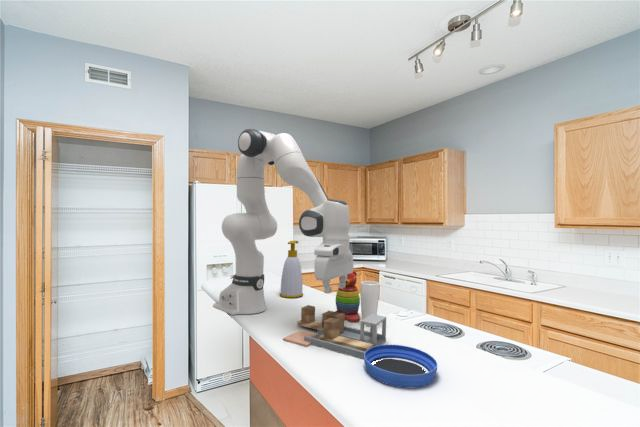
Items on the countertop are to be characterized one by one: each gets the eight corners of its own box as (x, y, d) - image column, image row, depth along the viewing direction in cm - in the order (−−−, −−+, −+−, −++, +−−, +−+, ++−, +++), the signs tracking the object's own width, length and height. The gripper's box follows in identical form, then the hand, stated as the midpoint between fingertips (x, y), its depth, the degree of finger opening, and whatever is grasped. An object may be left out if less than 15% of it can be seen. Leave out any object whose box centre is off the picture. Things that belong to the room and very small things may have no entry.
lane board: (304, 342, 100) (304, 317, 100) (330, 328, 114) (331, 306, 114) (364, 359, 90) (365, 331, 90) (385, 341, 103) (386, 316, 104)
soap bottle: (306, 294, 162) (308, 240, 162) (298, 299, 151) (299, 242, 151) (285, 291, 166) (287, 239, 166) (275, 297, 155) (277, 241, 155)
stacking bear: (329, 319, 124) (330, 271, 124) (337, 312, 133) (339, 268, 133) (356, 323, 120) (358, 274, 120) (363, 315, 129) (365, 270, 129)
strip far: (297, 324, 114) (297, 306, 114) (304, 321, 117) (304, 304, 117) (338, 334, 105) (338, 315, 105) (343, 331, 109) (344, 312, 109)
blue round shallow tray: (426, 399, 71) (426, 382, 72) (351, 375, 81) (352, 361, 81) (443, 367, 87) (444, 354, 87) (379, 351, 96) (379, 339, 96)
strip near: (319, 340, 100) (319, 319, 100) (326, 336, 104) (326, 316, 104) (367, 353, 92) (368, 330, 92) (373, 348, 95) (374, 327, 95)
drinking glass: (378, 327, 116) (379, 285, 116) (358, 326, 117) (359, 283, 117) (378, 321, 122) (379, 281, 122) (360, 320, 124) (361, 280, 124)
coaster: (282, 340, 102) (282, 338, 102) (299, 331, 110) (299, 330, 110) (306, 346, 97) (306, 344, 97) (322, 337, 105) (322, 335, 105)
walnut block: (321, 327, 108) (322, 313, 108) (328, 323, 112) (329, 310, 112) (337, 331, 105) (338, 317, 105) (344, 327, 109) (344, 313, 109)
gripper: (342, 245, 119) (341, 284, 119) (311, 249, 102) (310, 294, 102) (358, 246, 116) (357, 286, 116) (328, 251, 98) (327, 297, 98)
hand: (335, 290), depth 108 cm, fingers open, 8 cm apart
